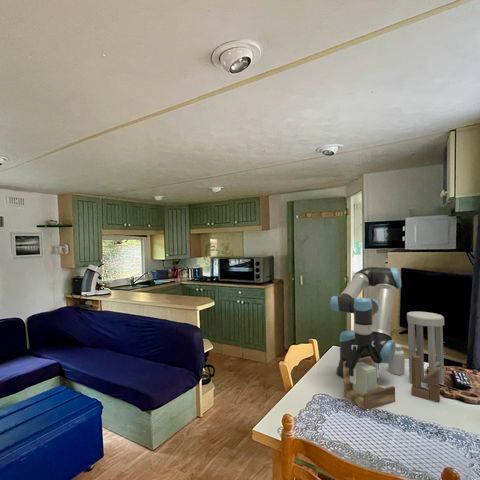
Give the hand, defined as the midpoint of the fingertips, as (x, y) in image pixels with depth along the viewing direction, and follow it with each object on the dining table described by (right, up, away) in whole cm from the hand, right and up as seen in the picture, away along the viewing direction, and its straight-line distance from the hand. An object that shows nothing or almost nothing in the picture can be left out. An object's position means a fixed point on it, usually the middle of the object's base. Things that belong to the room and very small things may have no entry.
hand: (364, 379), depth 130 cm
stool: (+38, -10, +15) cm, 42 cm away
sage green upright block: (0, -6, 0) cm, 6 cm away
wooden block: (+29, -9, +2) cm, 31 cm away
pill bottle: (+30, -10, +29) cm, 43 cm away
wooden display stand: (+3, -9, +1) cm, 10 cm away
